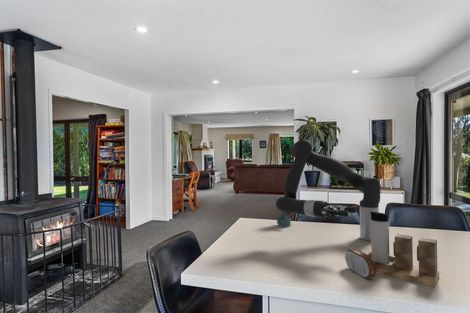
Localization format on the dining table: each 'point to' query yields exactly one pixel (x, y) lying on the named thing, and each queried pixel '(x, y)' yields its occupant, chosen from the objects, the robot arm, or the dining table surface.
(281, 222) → the teal textured tall figure
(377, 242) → the travel mug
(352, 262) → the tin
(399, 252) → the brown wooden piece
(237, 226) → the dining table surface
